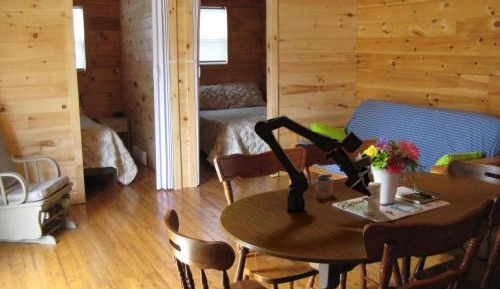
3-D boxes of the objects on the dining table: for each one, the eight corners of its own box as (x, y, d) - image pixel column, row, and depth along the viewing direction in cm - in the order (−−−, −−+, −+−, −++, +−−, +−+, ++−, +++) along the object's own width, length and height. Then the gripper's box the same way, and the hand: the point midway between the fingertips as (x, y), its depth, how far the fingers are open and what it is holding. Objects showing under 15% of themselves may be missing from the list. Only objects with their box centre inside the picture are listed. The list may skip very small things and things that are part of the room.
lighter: (316, 199, 222) (316, 175, 220) (313, 197, 225) (313, 173, 224) (334, 197, 224) (334, 174, 223) (330, 195, 228) (331, 172, 226)
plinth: (363, 216, 199) (364, 213, 199) (366, 211, 205) (366, 209, 205) (380, 217, 197) (380, 215, 197) (382, 213, 203) (382, 210, 203)
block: (367, 213, 200) (368, 184, 198) (369, 210, 203) (370, 182, 202) (378, 214, 198) (379, 185, 196) (379, 211, 202) (380, 183, 200)
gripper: (354, 152, 190) (385, 185, 188) (364, 143, 207) (392, 173, 205) (332, 172, 195) (362, 204, 193) (343, 162, 212) (371, 191, 210)
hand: (372, 192), depth 200 cm, fingers open, 9 cm apart
